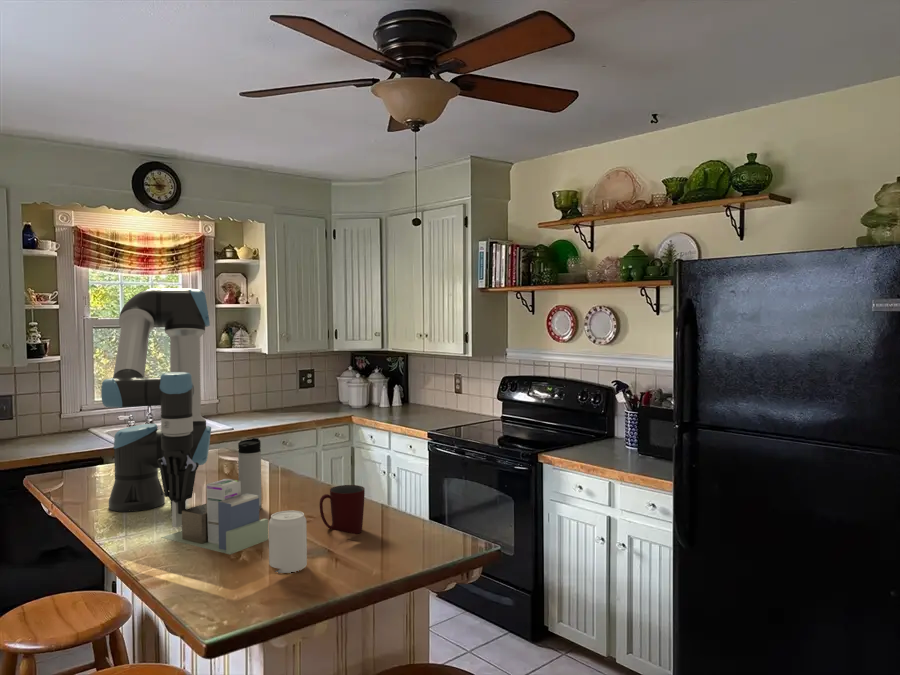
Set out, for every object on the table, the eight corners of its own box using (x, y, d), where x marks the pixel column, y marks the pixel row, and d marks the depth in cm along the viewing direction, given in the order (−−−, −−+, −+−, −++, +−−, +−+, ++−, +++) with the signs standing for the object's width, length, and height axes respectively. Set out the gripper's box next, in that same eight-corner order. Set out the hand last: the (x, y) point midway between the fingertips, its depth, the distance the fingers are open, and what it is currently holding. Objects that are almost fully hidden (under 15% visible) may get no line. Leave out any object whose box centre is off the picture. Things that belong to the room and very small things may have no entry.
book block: (218, 548, 164) (218, 501, 164) (247, 537, 172) (246, 493, 172) (231, 551, 162) (230, 504, 162) (259, 540, 170) (259, 495, 170)
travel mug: (266, 506, 205) (265, 438, 205) (253, 512, 199) (252, 442, 198) (248, 504, 207) (247, 437, 207) (234, 510, 201) (233, 441, 200)
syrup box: (225, 546, 166) (224, 485, 165) (206, 542, 169) (205, 482, 168) (242, 539, 171) (241, 480, 170) (224, 535, 174) (223, 477, 173)
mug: (328, 541, 174) (327, 497, 174) (313, 532, 181) (312, 489, 181) (371, 532, 181) (370, 490, 180) (355, 524, 188) (354, 483, 188)
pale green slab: (161, 543, 173) (160, 517, 173) (201, 530, 183) (200, 505, 183) (230, 560, 161) (229, 532, 160) (268, 545, 171) (268, 519, 171)
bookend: (182, 539, 171) (181, 510, 171) (211, 529, 179) (211, 501, 179) (201, 543, 168) (201, 514, 167) (231, 533, 175) (230, 505, 175)
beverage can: (272, 562, 159) (272, 510, 159) (308, 561, 160) (308, 509, 160) (266, 576, 151) (265, 520, 151) (304, 574, 152) (303, 519, 151)
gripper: (147, 433, 178) (149, 525, 179) (182, 438, 171) (184, 533, 173) (172, 429, 184) (173, 517, 186) (206, 433, 178) (208, 525, 179)
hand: (178, 525), depth 179 cm, fingers closed
